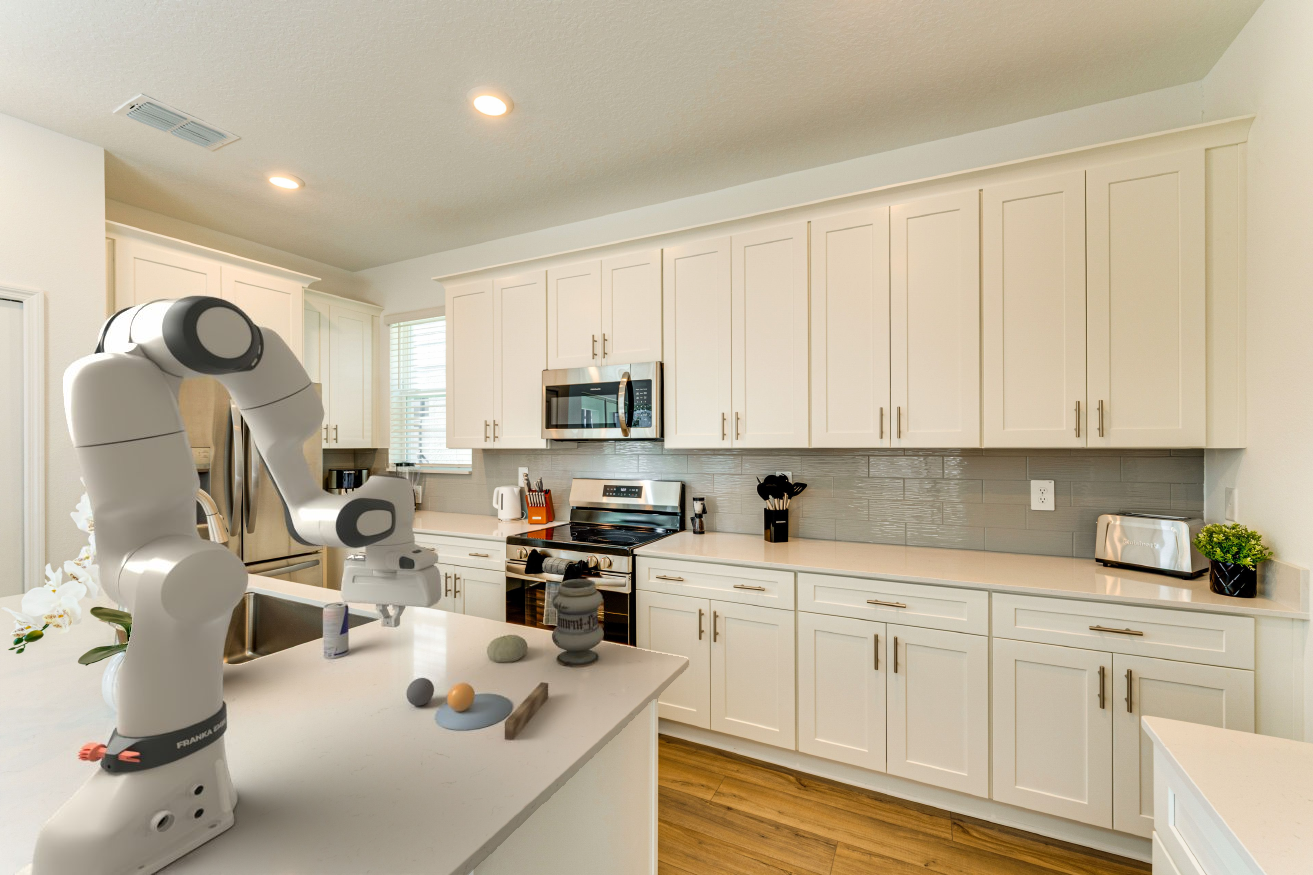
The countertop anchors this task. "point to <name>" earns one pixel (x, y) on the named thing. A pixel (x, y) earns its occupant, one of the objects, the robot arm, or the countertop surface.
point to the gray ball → (420, 691)
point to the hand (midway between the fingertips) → (390, 626)
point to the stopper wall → (526, 711)
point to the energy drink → (335, 630)
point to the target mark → (475, 713)
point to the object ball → (461, 697)
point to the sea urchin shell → (507, 648)
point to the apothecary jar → (577, 622)
